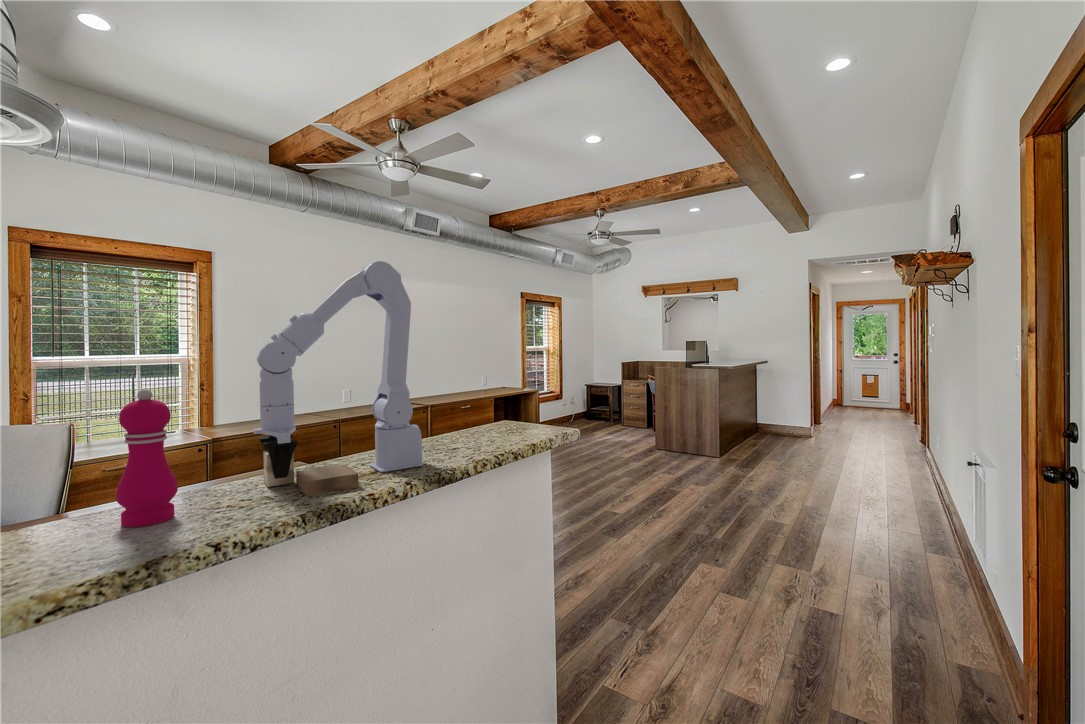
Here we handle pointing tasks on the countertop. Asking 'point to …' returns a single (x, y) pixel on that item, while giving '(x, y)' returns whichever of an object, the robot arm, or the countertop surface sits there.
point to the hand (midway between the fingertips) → (278, 474)
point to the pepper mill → (146, 464)
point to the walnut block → (326, 479)
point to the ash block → (269, 475)
